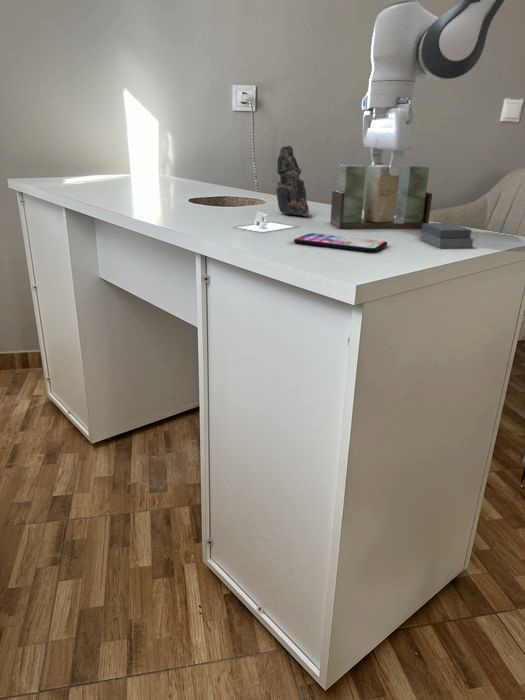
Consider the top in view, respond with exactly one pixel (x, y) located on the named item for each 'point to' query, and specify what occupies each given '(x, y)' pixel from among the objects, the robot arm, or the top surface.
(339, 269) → the top surface
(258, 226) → the adhesive hook
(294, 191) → the statue
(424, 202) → the book rack
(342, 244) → the smartphone
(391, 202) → the box
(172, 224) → the top surface
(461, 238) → the grey books
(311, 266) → the top surface
